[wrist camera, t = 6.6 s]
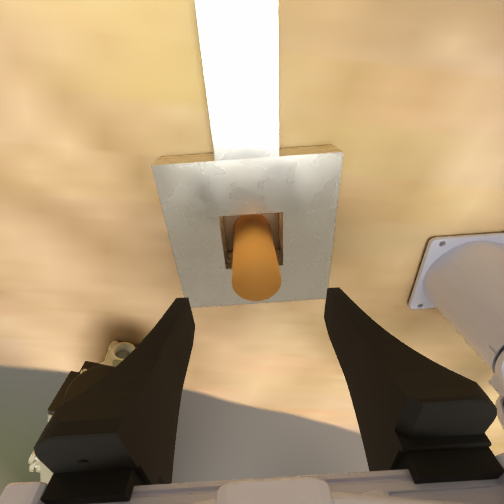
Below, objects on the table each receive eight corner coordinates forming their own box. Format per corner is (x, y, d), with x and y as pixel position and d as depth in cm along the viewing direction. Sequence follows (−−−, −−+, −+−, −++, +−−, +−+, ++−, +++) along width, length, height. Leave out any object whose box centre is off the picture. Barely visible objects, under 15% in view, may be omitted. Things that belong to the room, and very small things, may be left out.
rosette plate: (345, -11, 15) (363, -27, 13) (319, 280, 25) (326, 298, 23) (126, 5, 15) (107, -9, 13) (191, 289, 25) (187, 308, 23)
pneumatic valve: (158, 321, 27) (109, 462, 17) (139, 386, 33) (93, 522, 23) (101, 307, 26) (10, 450, 16) (91, 377, 32) (19, 516, 21)
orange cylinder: (268, 210, 21) (279, 257, 15) (272, 243, 23) (283, 297, 17) (230, 216, 22) (227, 265, 16) (237, 248, 23) (236, 304, 17)
